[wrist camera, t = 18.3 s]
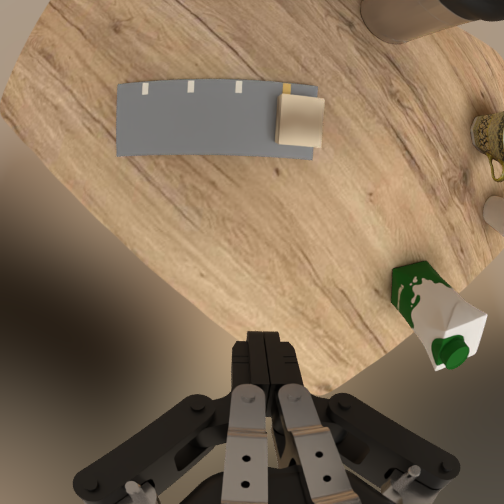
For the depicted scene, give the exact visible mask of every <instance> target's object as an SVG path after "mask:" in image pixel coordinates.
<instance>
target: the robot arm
mask: <svg viewBox="0 0 504 504" xmlns="http://www.w3.org/2000/svg"><path fill="white" fill-rule="evenodd" d="M361 15H362V18H363V20H364V23H365V24H366V26H367V27H368V29H369V30H370V31H371V32H372V33H373V34H374V35H375V36H377V37H378V38H380V39H381V40H383V41H385V42H388V43H392V44H402V43H405V42H408V41H411V40H414V39H417V38H420V37H423V36H426V35H429V34H432V33H435V32H438V31H441V30H444V29H448V28H451V27H454V26H458V25H461V24H465V23H469V22H472V21H476V20H484V21H501V20H504V0H363V1H362V4H361ZM231 373H232V374H231V377H232V378H231V380H232V381H231V383H232V385H231V387H232V388H231V392H230V393H229V394H228V395H227V396H225V397H223V398H220V399H216V400H211V399H210V398H209V397H207V396H205V395H199V394H195V395H190V396H188V397H186V398H185V399H183V400H182V401H181V402H179V403H178V404H177V405H175V406H174V407H173V408H172V409H170V410H169V411H167V412H166V413H165V414H163V415H162V416H161V417H159V418H158V419H156V420H155V421H154V422H152V423H151V424H149V425H148V426H147V427H145V428H144V429H142V430H141V431H140V432H138V433H137V434H135V435H134V436H133V437H131V438H130V439H128V440H127V441H125V442H124V443H122V444H121V445H119V446H118V447H117V448H115V449H114V450H112V451H111V452H109V453H108V454H106V455H104V456H103V457H102V458H100V459H98V460H97V461H95V462H94V463H92V464H91V465H89V466H88V467H86V468H84V469H83V470H81V471H80V472H78V473H77V474H76V476H75V477H74V479H73V488H74V491H75V492H76V494H77V495H78V496H79V497H80V498H81V499H82V500H83V502H84V503H85V504H161V501H160V499H159V498H158V495H160V494H161V493H162V492H163V491H165V490H166V489H167V488H168V487H169V486H171V485H172V484H173V483H174V482H176V481H177V480H178V479H179V478H180V477H182V476H183V475H184V474H185V473H186V472H187V471H188V470H190V469H191V468H192V467H193V466H194V465H196V464H197V463H198V462H199V461H200V460H201V459H202V458H203V457H204V456H206V455H207V454H208V453H209V452H210V451H211V450H212V449H213V448H214V447H215V445H219V444H223V443H227V444H226V455H225V465H224V472H220V473H217V474H215V475H212V476H210V477H209V478H207V479H206V480H204V481H203V482H202V483H201V484H199V485H198V486H197V487H196V488H195V489H194V490H193V491H192V492H191V493H190V494H189V495H188V496H187V497H186V498H185V499H184V500H183V501H182V502H180V503H179V504H432V503H433V501H434V500H435V498H436V496H437V495H438V493H439V491H440V490H442V489H443V488H444V487H445V486H446V485H447V484H448V483H450V482H451V481H452V480H453V479H454V478H455V477H456V476H457V475H458V474H459V471H460V463H459V461H458V459H457V458H456V457H455V456H453V455H452V454H450V453H448V452H446V451H444V450H442V449H441V448H439V447H437V446H435V445H433V444H432V443H430V442H428V441H427V440H425V439H423V438H421V437H420V436H418V435H416V434H414V433H413V432H411V431H409V430H408V429H405V428H404V427H403V426H401V425H399V424H398V423H396V422H394V421H393V420H391V419H389V418H387V417H386V416H384V415H383V414H381V413H379V412H378V411H376V410H375V409H373V408H371V407H370V406H368V405H366V404H365V403H363V402H362V401H360V400H359V399H357V398H356V397H354V396H352V395H350V394H347V393H338V394H335V395H334V396H332V397H331V398H330V399H325V398H320V397H316V396H314V395H312V394H310V392H309V391H308V389H307V388H305V387H304V385H303V381H302V377H301V373H300V369H299V365H298V361H297V358H296V353H295V349H294V348H293V346H292V345H291V344H290V343H289V342H280V337H279V333H278V332H266V331H263V332H262V331H247V340H246V341H236V343H235V345H234V346H233V348H232V367H231ZM265 417H271V418H272V425H271V434H272V438H273V442H274V447H275V452H276V456H277V461H278V469H277V468H271V467H268V457H267V456H268V454H267V453H268V450H267V432H266V429H265ZM343 464H345V465H346V466H347V467H349V468H350V469H352V470H353V471H355V472H356V473H358V474H359V475H361V476H362V477H364V478H365V479H367V480H369V481H370V482H372V483H373V484H375V485H376V486H378V487H379V488H381V490H380V491H381V493H380V492H378V491H377V490H375V489H374V488H373V487H371V486H370V485H368V484H367V483H365V482H364V481H363V480H361V479H360V478H358V477H357V476H356V475H354V474H353V473H351V472H350V471H348V470H345V469H344V466H343Z"/></svg>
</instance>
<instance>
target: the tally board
mask: <svg viewBox="0 0 504 504" xmlns="http://www.w3.org/2000/svg"><path fill="white" fill-rule="evenodd" d="M317 91H318V86H311V85H303V84H294V83H284V82H272V81H258V80H238V79H180V80H160V81H146V82H135V83H125V84H118V88H117V119H116V148H117V157H118V156H140V155H238V156H261V157H278V158H292V159H304V160H312V159H313V147H306V146H295V145H282V144H277V143H275V130H276V114H277V97H278V96H279V95H281V94H290V95H299V96H308V97H316V98H317Z"/></svg>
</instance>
